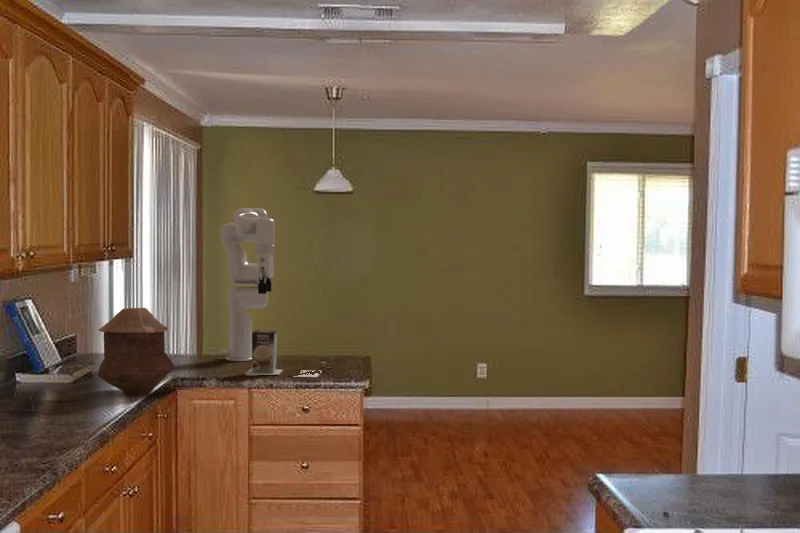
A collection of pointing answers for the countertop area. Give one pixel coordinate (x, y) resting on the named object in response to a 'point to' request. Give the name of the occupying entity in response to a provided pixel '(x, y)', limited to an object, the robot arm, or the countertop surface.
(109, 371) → the pottery vessel
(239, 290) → the robot arm
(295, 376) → the card
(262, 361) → the coffee box
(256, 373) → the green pad
